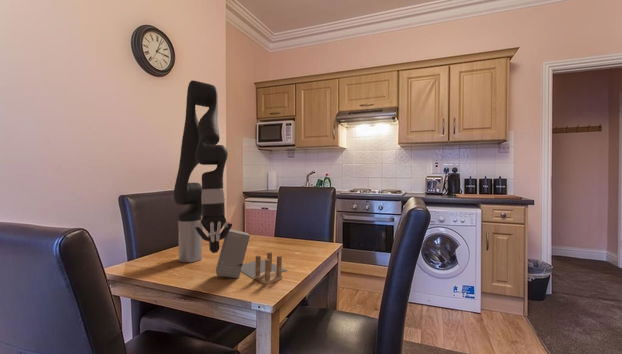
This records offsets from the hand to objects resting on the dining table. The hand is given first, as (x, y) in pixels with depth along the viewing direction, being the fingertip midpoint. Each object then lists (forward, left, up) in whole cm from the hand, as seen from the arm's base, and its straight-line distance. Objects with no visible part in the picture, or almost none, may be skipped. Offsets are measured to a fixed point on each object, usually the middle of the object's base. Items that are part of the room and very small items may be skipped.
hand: (214, 252), depth 101 cm
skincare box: (-2, +5, -10) cm, 11 cm away
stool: (+10, +15, -10) cm, 21 cm away
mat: (-2, +18, -10) cm, 21 cm away
